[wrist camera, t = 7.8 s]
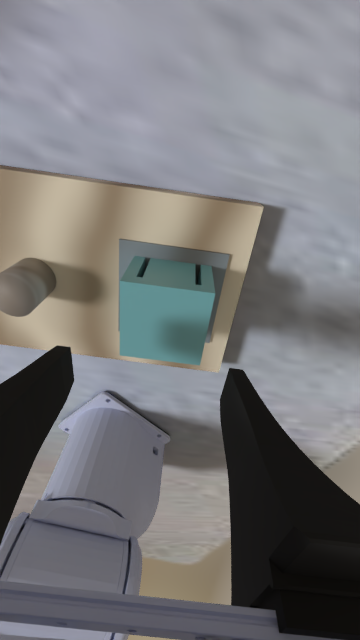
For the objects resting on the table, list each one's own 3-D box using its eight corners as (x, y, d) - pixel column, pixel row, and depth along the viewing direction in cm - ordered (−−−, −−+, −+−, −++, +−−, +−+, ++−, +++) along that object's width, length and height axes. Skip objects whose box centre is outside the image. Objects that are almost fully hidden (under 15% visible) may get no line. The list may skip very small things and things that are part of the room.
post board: (258, 202, 17) (276, 217, 13) (217, 360, 24) (221, 400, 20) (-49, 158, 17) (-122, 160, 13) (-1, 332, 23) (-39, 367, 20)
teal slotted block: (211, 266, 18) (215, 293, 14) (199, 329, 20) (200, 365, 17) (134, 255, 17) (119, 280, 14) (132, 320, 20) (119, 355, 17)
